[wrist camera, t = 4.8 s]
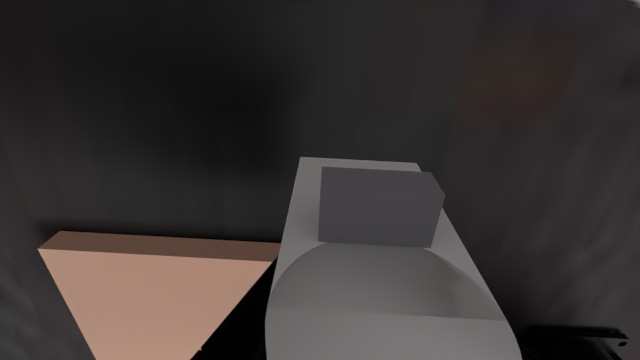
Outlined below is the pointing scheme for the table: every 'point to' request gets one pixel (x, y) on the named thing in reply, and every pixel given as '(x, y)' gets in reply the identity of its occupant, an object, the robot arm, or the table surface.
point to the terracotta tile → (151, 289)
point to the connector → (377, 272)
